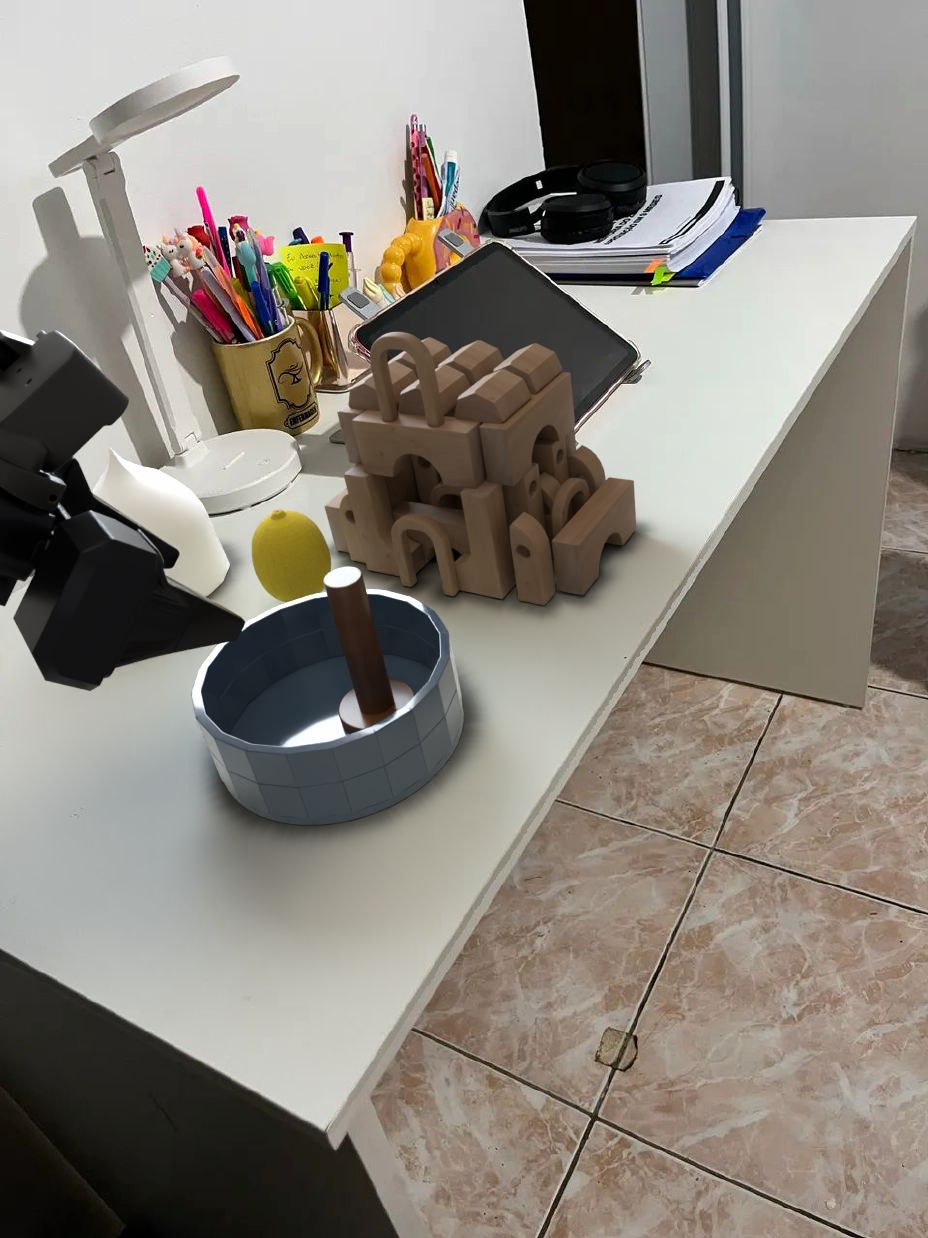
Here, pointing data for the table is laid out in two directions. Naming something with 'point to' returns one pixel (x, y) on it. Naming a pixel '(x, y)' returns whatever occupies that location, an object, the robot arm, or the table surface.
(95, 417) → the robot arm
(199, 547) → the teardrop
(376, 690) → the brown wooden peg
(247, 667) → the bowl
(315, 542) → the lemon
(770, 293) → the table surface
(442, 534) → the wooden puzzle
